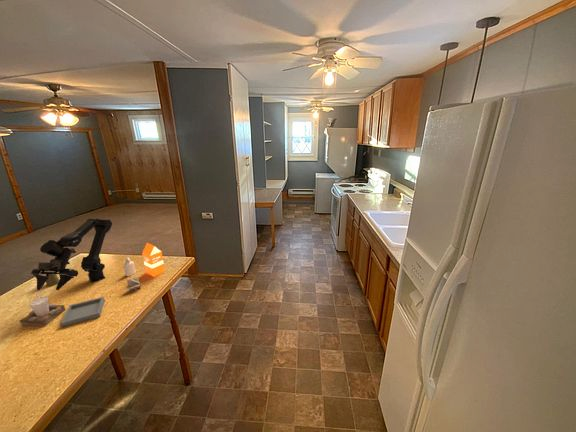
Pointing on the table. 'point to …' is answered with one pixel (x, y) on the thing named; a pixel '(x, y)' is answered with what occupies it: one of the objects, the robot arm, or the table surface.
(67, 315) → the tray
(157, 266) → the orange juice
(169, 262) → the table surface
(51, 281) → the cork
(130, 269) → the eye dropper bottle
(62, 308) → the clip collar
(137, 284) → the architectural model
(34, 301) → the smoothie
